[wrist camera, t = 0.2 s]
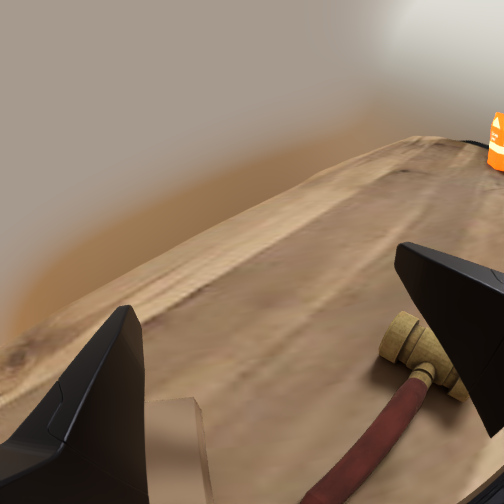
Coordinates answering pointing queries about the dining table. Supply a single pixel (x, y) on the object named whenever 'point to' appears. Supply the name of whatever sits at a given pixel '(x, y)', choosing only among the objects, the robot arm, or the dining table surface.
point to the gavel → (392, 407)
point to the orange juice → (497, 143)
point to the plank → (176, 453)
